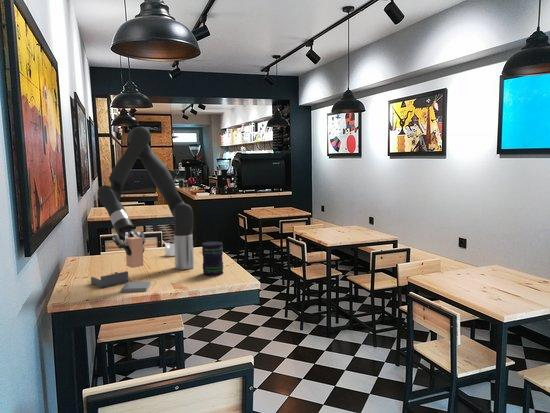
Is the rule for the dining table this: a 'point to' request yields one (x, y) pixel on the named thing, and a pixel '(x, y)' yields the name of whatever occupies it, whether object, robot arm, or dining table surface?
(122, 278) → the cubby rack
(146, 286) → the slate pad
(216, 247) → the storage jar
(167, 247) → the bracket
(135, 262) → the terracotta block
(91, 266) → the dining table surface
